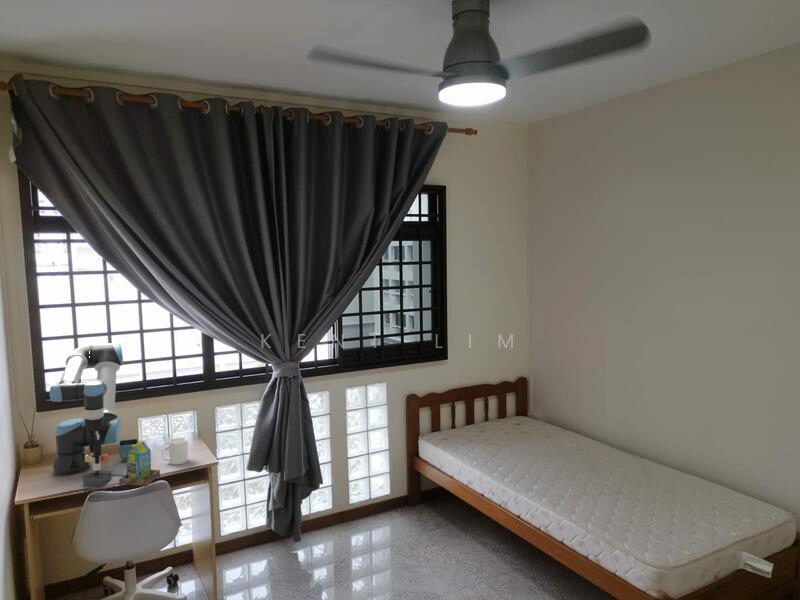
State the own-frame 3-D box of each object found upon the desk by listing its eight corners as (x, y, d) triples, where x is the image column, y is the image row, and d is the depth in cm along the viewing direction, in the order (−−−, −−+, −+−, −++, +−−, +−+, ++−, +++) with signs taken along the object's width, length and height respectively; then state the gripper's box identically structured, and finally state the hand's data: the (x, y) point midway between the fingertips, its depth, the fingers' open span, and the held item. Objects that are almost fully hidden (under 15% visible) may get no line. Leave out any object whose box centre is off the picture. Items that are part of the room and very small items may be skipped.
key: (85, 474, 247) (84, 456, 246) (87, 472, 249) (86, 454, 248) (107, 473, 248) (106, 455, 247) (108, 472, 250) (108, 454, 249)
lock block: (83, 485, 245) (82, 477, 245) (94, 478, 253) (94, 469, 253) (100, 486, 244) (100, 477, 244) (111, 479, 252) (111, 470, 252)
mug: (159, 462, 273) (159, 441, 272) (185, 457, 280) (184, 436, 279) (163, 468, 266) (163, 446, 265) (189, 462, 273) (189, 441, 272)
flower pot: (138, 455, 281) (138, 438, 281) (138, 461, 273) (138, 443, 273) (119, 457, 278) (118, 440, 277) (118, 464, 270) (118, 446, 269)
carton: (140, 484, 248) (138, 445, 246) (126, 481, 250) (125, 442, 249) (153, 477, 254) (151, 439, 253) (139, 475, 257) (138, 437, 256)
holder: (119, 484, 247) (119, 478, 247) (133, 473, 259) (133, 468, 258) (146, 485, 246) (146, 480, 246) (159, 475, 258) (159, 469, 257)
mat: (106, 475, 257) (105, 473, 257) (123, 463, 271) (123, 462, 271) (135, 476, 256) (135, 475, 256) (150, 464, 270) (150, 463, 270)
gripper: (108, 420, 242) (109, 472, 244) (99, 411, 255) (100, 460, 257) (89, 424, 237) (90, 476, 239) (80, 414, 250) (82, 464, 252)
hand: (95, 468), depth 248 cm, fingers closed on key, 4 cm apart
